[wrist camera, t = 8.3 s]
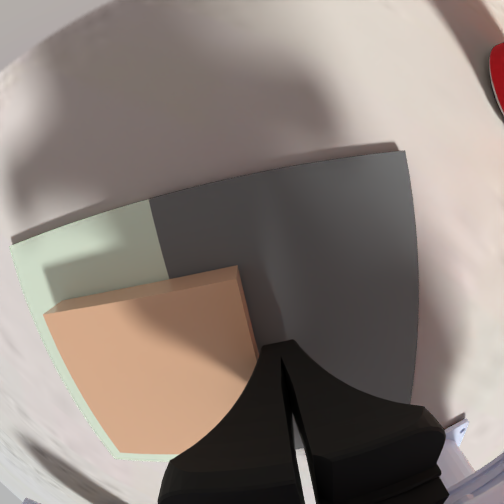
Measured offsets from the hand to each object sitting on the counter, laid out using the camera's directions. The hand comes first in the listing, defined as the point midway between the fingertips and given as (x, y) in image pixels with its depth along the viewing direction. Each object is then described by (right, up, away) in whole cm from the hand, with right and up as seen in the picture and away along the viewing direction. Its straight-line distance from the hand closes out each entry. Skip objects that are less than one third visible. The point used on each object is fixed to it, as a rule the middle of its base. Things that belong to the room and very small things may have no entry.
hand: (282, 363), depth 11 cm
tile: (-1, 0, 0) cm, 1 cm away
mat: (-2, 0, +1) cm, 3 cm away
